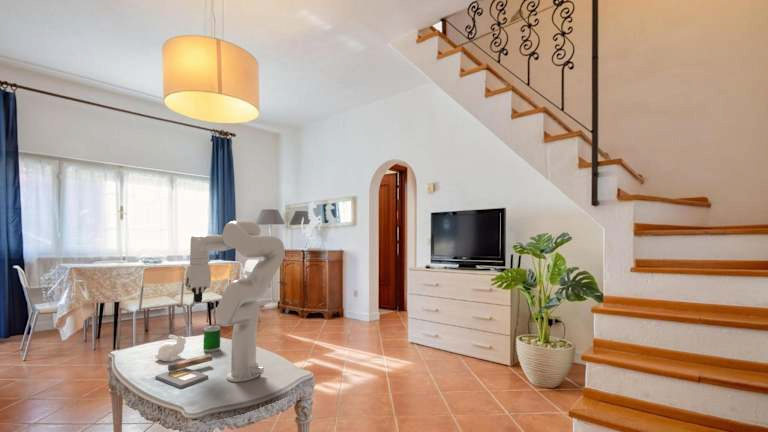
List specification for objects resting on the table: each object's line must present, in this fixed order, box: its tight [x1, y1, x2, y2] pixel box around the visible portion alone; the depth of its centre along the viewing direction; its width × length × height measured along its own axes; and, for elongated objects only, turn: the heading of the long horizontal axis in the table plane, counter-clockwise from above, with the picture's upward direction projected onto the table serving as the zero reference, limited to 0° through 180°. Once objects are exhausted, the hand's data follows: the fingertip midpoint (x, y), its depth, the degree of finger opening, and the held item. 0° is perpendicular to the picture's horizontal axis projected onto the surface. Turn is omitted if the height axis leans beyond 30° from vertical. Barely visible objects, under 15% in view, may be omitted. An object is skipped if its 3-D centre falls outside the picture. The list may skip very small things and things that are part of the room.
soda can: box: [202, 324, 221, 353], centre depth 177 cm, size 8×8×12 cm
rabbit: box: [154, 334, 187, 362], centre depth 164 cm, size 12×9×12 cm
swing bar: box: [167, 354, 213, 371], centre depth 151 cm, size 17×4×2 cm, turn 138°
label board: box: [155, 367, 209, 390], centre depth 142 cm, size 18×11×2 cm, turn 59°
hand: (197, 302), depth 162 cm, fingers closed
